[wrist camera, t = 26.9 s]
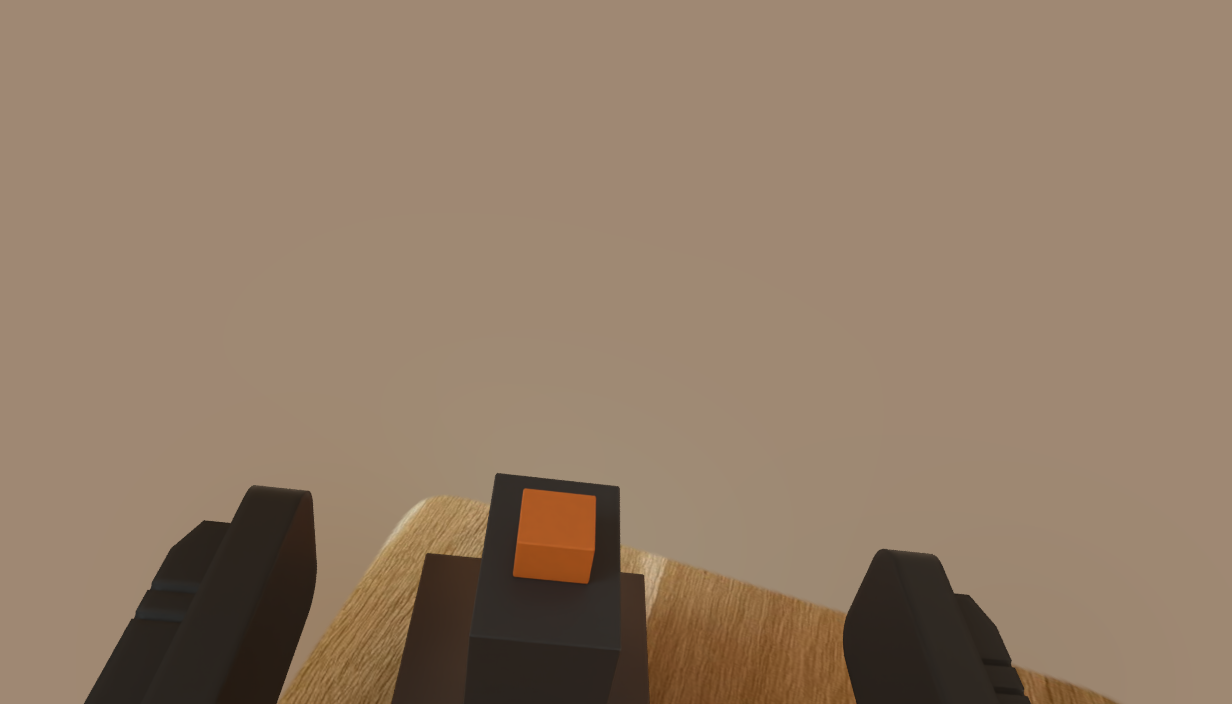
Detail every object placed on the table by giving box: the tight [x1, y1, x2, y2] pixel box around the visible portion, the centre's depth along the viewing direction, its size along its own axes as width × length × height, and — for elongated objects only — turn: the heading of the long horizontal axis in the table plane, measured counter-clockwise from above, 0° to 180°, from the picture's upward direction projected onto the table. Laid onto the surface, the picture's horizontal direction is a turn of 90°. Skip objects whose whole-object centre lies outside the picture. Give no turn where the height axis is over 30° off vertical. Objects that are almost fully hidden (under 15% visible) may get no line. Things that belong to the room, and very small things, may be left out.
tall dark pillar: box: [463, 473, 621, 704], centre depth 31 cm, size 4×7×14 cm, turn 0°
